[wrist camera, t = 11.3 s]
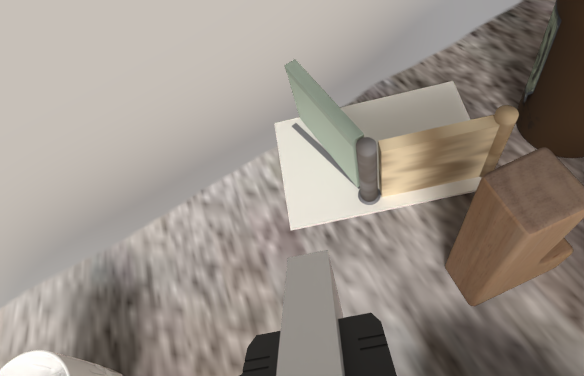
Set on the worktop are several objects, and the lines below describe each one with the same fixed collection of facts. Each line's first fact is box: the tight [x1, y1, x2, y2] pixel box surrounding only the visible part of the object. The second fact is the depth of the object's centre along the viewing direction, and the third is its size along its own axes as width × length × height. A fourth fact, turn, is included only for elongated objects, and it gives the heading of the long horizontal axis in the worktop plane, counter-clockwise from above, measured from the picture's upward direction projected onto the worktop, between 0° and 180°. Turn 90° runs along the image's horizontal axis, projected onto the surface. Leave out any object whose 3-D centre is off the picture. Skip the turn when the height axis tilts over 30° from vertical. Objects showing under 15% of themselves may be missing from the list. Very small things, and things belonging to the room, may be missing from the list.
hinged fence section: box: [285, 60, 364, 188], centre depth 44 cm, size 12×1×9 cm, turn 32°
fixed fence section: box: [356, 105, 519, 202], centre depth 41 cm, size 14×2×10 cm, turn 99°
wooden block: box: [445, 147, 584, 306], centre depth 32 cm, size 9×4×18 cm, turn 114°
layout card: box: [274, 81, 482, 230], centre depth 48 cm, size 22×14×1 cm, turn 99°
